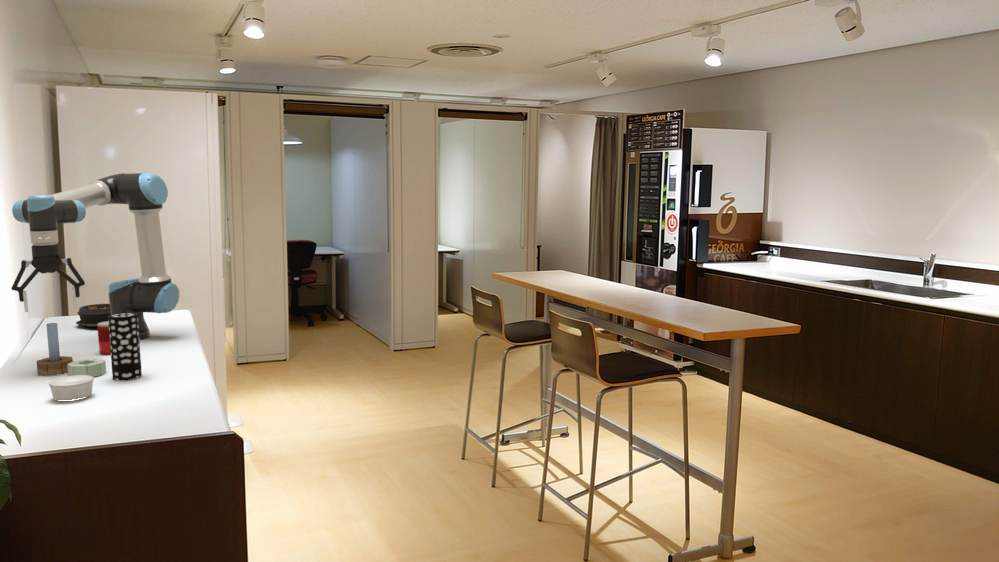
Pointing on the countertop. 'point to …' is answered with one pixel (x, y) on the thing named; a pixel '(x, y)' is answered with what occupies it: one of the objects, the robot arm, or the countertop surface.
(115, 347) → the spotted tube
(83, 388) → the ramekin
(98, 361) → the sage bead
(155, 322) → the countertop surface
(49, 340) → the dowel
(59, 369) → the walnut bead
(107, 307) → the casserole
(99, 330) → the canned food
